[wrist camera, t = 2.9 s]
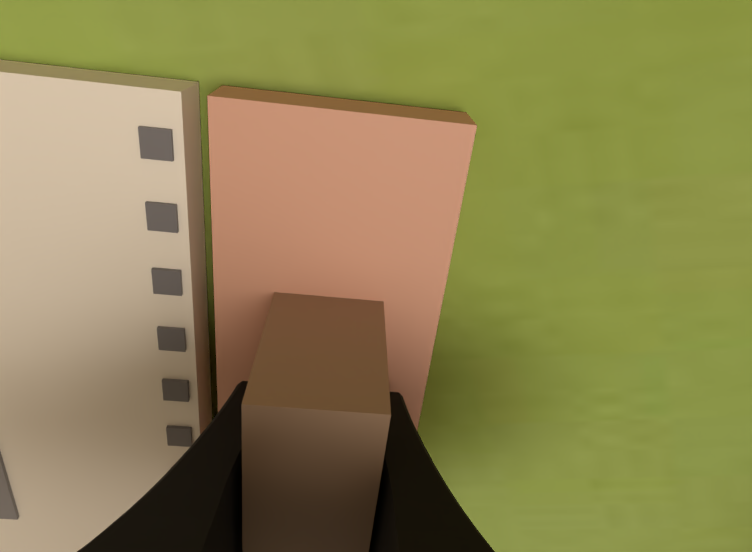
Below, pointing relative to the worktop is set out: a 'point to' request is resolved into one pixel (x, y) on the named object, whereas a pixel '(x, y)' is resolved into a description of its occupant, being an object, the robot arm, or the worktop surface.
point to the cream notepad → (97, 296)
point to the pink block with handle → (326, 294)
